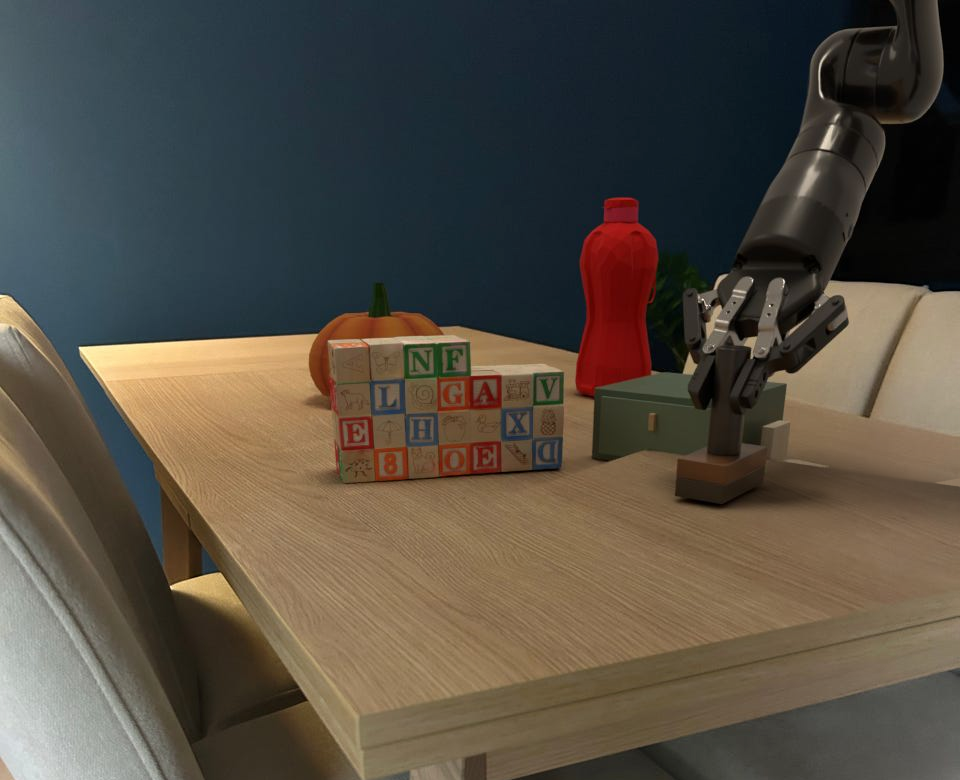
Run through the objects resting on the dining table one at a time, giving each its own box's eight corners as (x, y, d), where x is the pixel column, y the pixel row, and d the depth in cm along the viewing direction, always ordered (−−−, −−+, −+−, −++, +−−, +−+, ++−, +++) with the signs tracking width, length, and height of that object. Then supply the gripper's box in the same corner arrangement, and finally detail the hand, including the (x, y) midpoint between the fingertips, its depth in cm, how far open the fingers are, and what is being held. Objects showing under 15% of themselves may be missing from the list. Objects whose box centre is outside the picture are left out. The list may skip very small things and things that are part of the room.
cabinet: (779, 452, 100) (787, 383, 98) (714, 479, 90) (721, 403, 87) (659, 436, 108) (664, 372, 106) (587, 459, 98) (589, 388, 95)
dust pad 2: (792, 458, 92) (790, 470, 93) (766, 464, 90) (764, 477, 91) (828, 465, 90) (827, 478, 90) (803, 472, 87) (801, 485, 88)
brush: (718, 475, 82) (731, 340, 77) (763, 482, 79) (779, 343, 75) (674, 496, 76) (685, 351, 71) (721, 504, 74) (736, 355, 69)
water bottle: (669, 395, 134) (683, 197, 124) (604, 402, 129) (614, 196, 119) (628, 387, 141) (639, 198, 132) (566, 393, 136) (571, 198, 127)
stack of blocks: (544, 456, 99) (546, 331, 94) (563, 470, 94) (566, 337, 89) (334, 469, 95) (326, 337, 90) (341, 484, 89) (332, 344, 84)
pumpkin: (398, 384, 145) (394, 277, 139) (482, 400, 131) (482, 282, 125) (285, 399, 133) (275, 283, 127) (365, 418, 120) (358, 289, 114)
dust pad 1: (774, 460, 97) (786, 462, 96) (757, 467, 94) (769, 469, 94) (779, 420, 96) (790, 421, 95) (762, 426, 93) (774, 427, 92)
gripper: (708, 193, 78) (620, 365, 74) (884, 190, 70) (796, 383, 66) (730, 261, 84) (650, 424, 80) (895, 265, 76) (815, 447, 72)
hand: (716, 404), depth 73 cm, fingers closed on brush, 2 cm apart
